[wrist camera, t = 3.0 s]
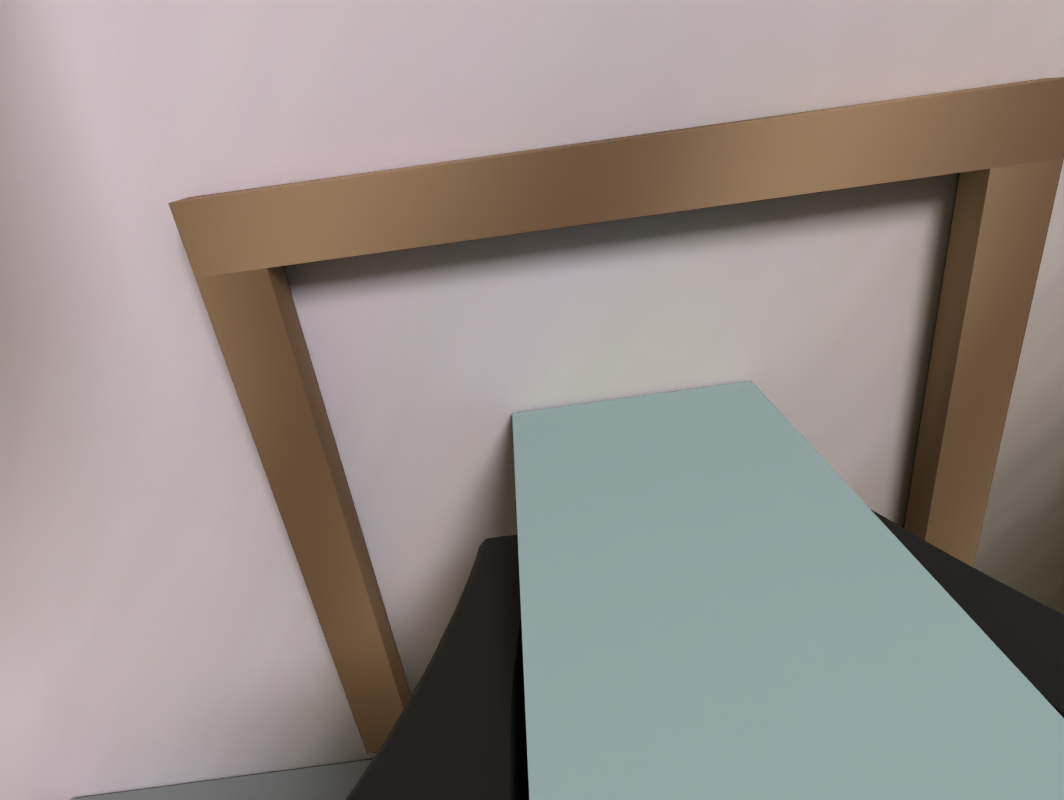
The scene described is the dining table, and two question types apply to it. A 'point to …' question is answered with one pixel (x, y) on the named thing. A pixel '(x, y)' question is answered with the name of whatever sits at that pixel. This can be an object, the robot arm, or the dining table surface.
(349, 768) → the socket board
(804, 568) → the peg
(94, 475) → the dining table surface
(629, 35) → the dining table surface
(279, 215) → the frame
